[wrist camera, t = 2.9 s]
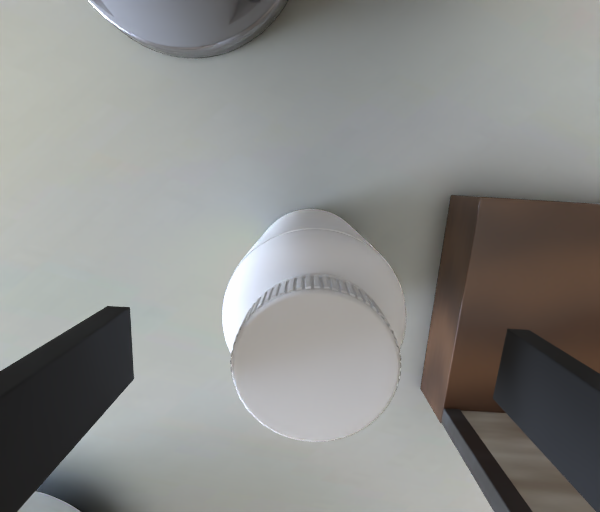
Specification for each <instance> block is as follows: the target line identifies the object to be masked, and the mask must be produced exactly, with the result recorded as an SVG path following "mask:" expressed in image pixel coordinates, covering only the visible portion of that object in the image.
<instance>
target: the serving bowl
mask: <svg viewBox="0 0 600 512" xmlns="http://www.w3.org/2000/svg"><path fill="white" fill-rule="evenodd" d="M17 512H81V511H79V510H78V509H76V508H75V507H73V506H72V505H70V504H68V503H66V502H64V501H62V500H60V499H58V498H56V497H53V496H50V495H47V494H44V493H41V492H37V491H35V492H34V493H33V494H32V496H31V497H30V498H29V499H28V500H27V501H26V502H25V503H24V505H23V506H22V507H21V508H20V509H19V510H18V511H17Z"/></svg>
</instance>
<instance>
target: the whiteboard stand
mask: <svg viewBox="0 0 600 512" xmlns="http://www.w3.org/2000/svg"><path fill="white" fill-rule="evenodd" d="M507 329H523V330H530V331H532V332H533V333H535V334H537V335H538V336H540V337H541V338H543V339H545V340H546V341H548V342H549V343H551V344H553V345H554V346H556V347H558V348H559V349H561V350H562V351H564V352H566V353H567V354H569V355H570V356H572V357H574V358H575V359H577V360H579V361H580V362H582V363H583V364H585V365H587V366H588V367H590V368H591V369H593V370H595V371H596V372H598V373H599V374H600V204H592V203H575V202H558V201H542V200H525V199H508V198H492V197H475V196H457V195H451V199H450V205H449V211H448V218H447V224H446V230H445V237H444V243H443V249H442V256H441V262H440V268H439V274H438V281H437V287H436V293H435V300H434V306H433V312H432V319H431V325H430V331H429V338H428V344H427V350H426V357H425V363H424V369H423V376H422V382H421V391H422V392H423V394H424V396H425V397H426V399H427V401H428V402H429V404H430V406H431V408H432V409H433V411H434V413H435V414H436V416H437V418H438V419H439V421H440V423H442V425H443V426H444V428H445V430H446V431H447V433H448V435H449V436H450V438H451V440H452V441H453V443H454V445H455V446H456V448H457V450H458V452H459V453H460V455H461V457H462V458H463V460H464V462H465V463H466V465H467V467H468V468H469V470H470V472H471V474H472V475H473V477H474V479H475V480H476V482H477V484H478V485H479V487H480V489H481V490H482V492H483V494H484V496H485V497H486V499H487V501H488V502H489V504H490V506H491V507H492V509H493V511H494V512H596V511H595V510H594V509H593V508H592V507H591V506H590V504H589V503H588V502H587V501H586V500H585V499H584V498H583V497H582V496H581V495H580V494H579V492H578V491H577V490H576V489H575V488H574V487H573V486H572V485H571V484H570V483H569V481H568V480H567V479H566V478H565V477H564V476H563V475H562V474H561V473H560V472H559V471H558V469H557V468H556V467H555V466H554V465H553V464H552V463H551V462H550V461H549V460H548V458H547V457H546V456H545V455H544V454H543V453H542V452H541V451H540V450H539V449H538V448H537V446H536V445H535V444H534V443H533V442H532V441H531V440H530V439H529V438H528V437H527V435H526V434H525V433H524V432H523V431H522V430H521V429H520V428H519V427H518V426H517V425H516V423H515V422H514V421H513V420H512V419H511V418H510V417H509V416H508V415H507V414H506V412H505V411H504V410H503V409H502V408H501V407H500V406H499V405H498V404H497V403H496V402H495V400H494V399H493V394H494V390H495V385H496V380H497V375H498V370H499V366H500V361H501V356H502V351H503V347H504V342H505V337H506V332H507Z"/></svg>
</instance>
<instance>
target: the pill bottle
mask: <svg viewBox="0 0 600 512" xmlns="http://www.w3.org/2000/svg"><path fill="white" fill-rule="evenodd" d="M222 321H223V330H224V335H225V339H226V343H227V346H228V348H229V351H230V353H231V357H232V358H231V365H232V366H231V372H232V379H233V380H234V386H235V387H236V391H237V394H238V395H239V398H240V399H241V401H242V402H243V404H244V405H245V407H246V408H247V409H248V411H249V412H250V413H251V414H252V415H253V416H254V417H255V418H256V419H257V420H258V421H259V422H260V423H262V424H263V425H264V426H266V427H267V428H269V429H270V430H272V431H274V432H276V433H278V434H280V435H283V436H285V437H288V438H292V439H296V440H301V441H308V442H325V441H332V440H337V439H341V438H344V437H347V436H350V435H352V434H355V433H357V432H359V431H360V430H362V429H364V428H365V427H367V426H368V425H370V424H371V423H372V422H373V421H375V420H376V419H377V418H378V417H379V416H380V415H381V414H382V413H383V411H384V410H385V409H386V407H387V406H388V404H389V403H390V401H391V399H392V398H393V396H394V393H395V391H396V389H397V385H398V383H399V380H400V379H399V376H400V374H401V371H400V368H401V362H400V361H401V355H400V348H401V345H402V342H403V338H404V334H405V328H406V304H405V298H404V294H403V290H402V287H401V284H400V282H399V280H398V278H397V276H396V274H395V272H394V270H393V269H392V267H391V266H390V264H389V263H388V262H387V261H386V259H385V258H384V257H383V256H382V255H381V254H380V253H379V252H378V251H377V250H376V249H375V248H374V247H373V246H372V245H371V244H370V243H369V242H368V241H366V240H365V239H364V238H363V237H362V236H361V235H360V234H359V233H358V232H357V231H356V230H355V229H354V228H352V227H351V226H350V225H349V224H348V223H347V222H346V221H345V220H343V219H342V218H340V217H339V216H337V215H335V214H333V213H330V212H328V211H324V210H319V209H302V210H297V211H294V212H291V213H288V214H286V215H284V216H282V217H281V218H279V219H278V220H277V221H275V222H274V223H273V224H272V225H271V226H270V227H269V228H268V229H267V231H266V232H265V233H264V234H263V235H262V237H261V238H260V239H259V240H258V241H257V243H256V244H255V245H254V246H253V247H252V249H251V250H250V251H249V252H248V253H247V255H246V256H245V257H244V258H243V259H242V261H241V262H240V263H239V265H238V266H237V268H236V269H235V271H234V273H233V274H232V276H231V278H230V281H229V283H228V285H227V288H226V291H225V295H224V300H223V307H222Z"/></svg>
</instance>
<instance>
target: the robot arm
mask: <svg viewBox="0 0 600 512" xmlns="http://www.w3.org/2000/svg"><path fill="white" fill-rule="evenodd" d="M88 1H89V2H90V3H91V4H92V5H93V6H94V7H95V8H96V9H97V11H98V12H100V13H101V14H102V15H103V16H104V17H105V18H107V19H108V20H109V21H110V22H111V23H112V24H113V25H115V26H116V27H117V28H118V29H119V30H120V31H122V32H123V33H124V34H126V35H127V36H129V37H130V38H131V39H133V40H135V41H136V42H138V43H140V44H141V45H143V46H145V47H148V48H150V49H152V50H154V51H157V52H160V53H163V54H167V55H171V56H176V57H184V58H204V57H212V56H216V55H221V54H224V53H227V52H230V51H232V50H234V49H237V48H239V47H241V46H243V45H244V44H246V43H248V42H249V41H251V40H253V39H254V38H255V37H257V36H258V35H259V34H260V33H262V32H263V31H264V30H265V29H266V28H267V27H268V26H269V25H270V24H271V23H272V22H273V21H274V19H275V18H276V17H277V16H278V15H279V13H280V12H281V11H282V9H283V8H284V6H285V5H286V3H287V1H288V0H88ZM133 379H134V373H133V355H132V338H131V320H130V307H113V306H107V307H105V308H104V309H102V310H100V311H99V312H97V313H95V314H94V315H92V316H91V317H89V318H87V319H86V320H84V321H82V322H81V323H79V324H77V325H76V326H74V327H72V328H71V329H69V330H67V331H66V332H64V333H63V334H61V335H59V336H58V337H56V338H54V339H53V340H51V341H49V342H48V343H46V344H44V345H43V346H41V347H39V348H38V349H36V350H35V351H33V352H31V353H30V354H28V355H26V356H25V357H23V358H21V359H20V360H18V361H16V362H15V363H13V364H12V365H10V366H8V367H7V368H5V369H3V370H2V371H0V512H17V511H18V510H19V509H20V508H21V507H22V506H23V505H24V503H25V502H26V501H27V500H28V499H29V498H30V497H31V496H32V494H33V493H34V492H35V491H36V490H37V489H38V488H39V486H40V485H41V484H42V483H43V482H44V481H45V480H46V478H47V477H48V476H49V475H50V474H51V473H52V472H53V470H54V469H55V468H56V467H57V466H58V465H59V464H60V462H61V461H62V460H63V459H64V458H65V457H66V456H67V455H68V453H69V452H70V451H71V450H72V449H73V448H74V447H75V445H76V444H77V443H78V442H79V441H80V440H81V439H82V437H83V436H84V435H85V434H86V433H87V432H88V431H89V429H90V428H91V427H92V426H93V425H94V424H95V423H96V422H97V420H98V419H99V418H100V417H101V416H102V415H103V414H104V412H105V411H106V410H107V409H108V408H109V407H110V406H111V404H112V403H113V402H114V401H115V400H116V399H117V398H118V396H119V395H120V394H121V393H122V392H123V391H124V390H125V388H126V387H127V386H128V385H129V384H130V383H131V382H132V381H133ZM493 399H494V400H495V402H496V403H497V404H498V405H499V406H500V407H501V408H502V409H503V410H504V411H505V412H506V414H507V415H508V416H509V417H510V418H511V419H512V420H513V421H514V422H515V423H516V425H517V426H518V427H519V428H520V429H521V430H522V431H523V432H524V433H525V434H526V435H527V437H528V438H529V439H530V440H531V441H532V442H533V443H534V444H535V445H536V446H537V448H538V449H539V450H540V451H541V452H542V453H543V454H544V455H545V456H546V457H547V458H548V460H549V461H550V462H551V463H552V464H553V465H554V466H555V467H556V468H557V469H558V471H559V472H560V473H561V474H562V475H563V476H564V477H565V478H566V479H567V480H568V481H569V483H570V484H571V485H572V486H573V487H574V488H575V489H576V490H577V491H578V492H579V494H580V495H581V496H582V497H583V498H584V499H585V500H586V501H587V502H588V503H589V504H590V506H591V507H592V508H593V509H594V510H595V511H596V512H600V374H599V373H598V372H596V371H595V370H593V369H591V368H590V367H588V366H587V365H585V364H583V363H582V362H580V361H579V360H577V359H575V358H574V357H572V356H570V355H569V354H567V353H566V352H564V351H562V350H561V349H559V348H558V347H556V346H554V345H553V344H551V343H549V342H548V341H546V340H545V339H543V338H541V337H540V336H538V335H537V334H535V333H533V332H532V331H530V330H523V329H507V332H506V337H505V342H504V347H503V351H502V356H501V361H500V366H499V370H498V375H497V380H496V385H495V390H494V394H493Z"/></svg>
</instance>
